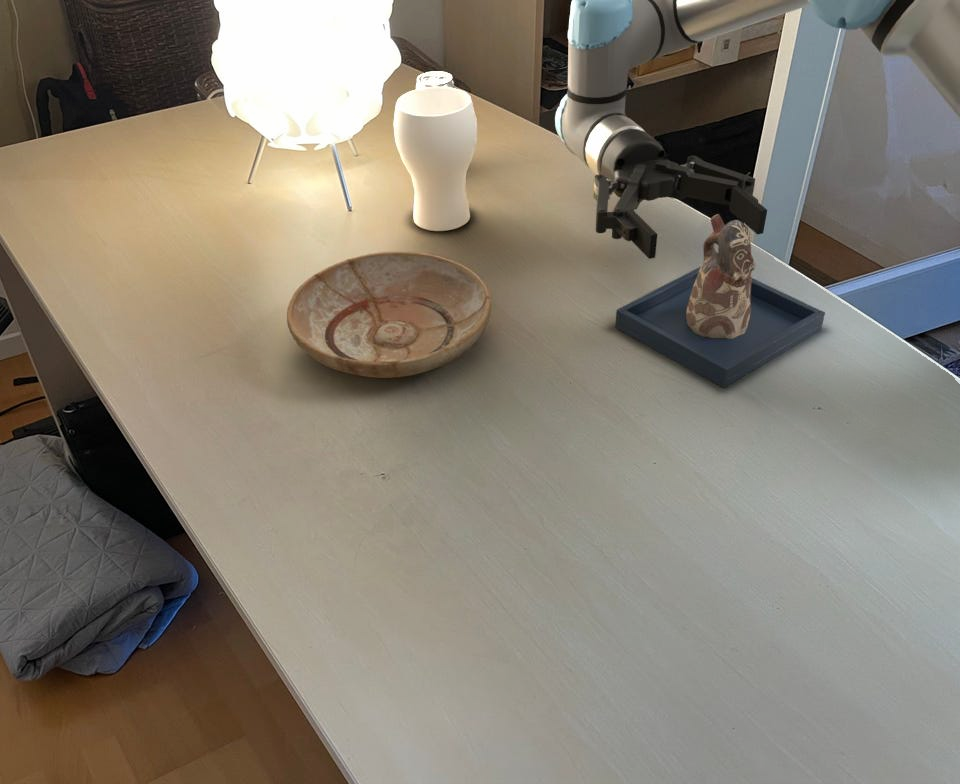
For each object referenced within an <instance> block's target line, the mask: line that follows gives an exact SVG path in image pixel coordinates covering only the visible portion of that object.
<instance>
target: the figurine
mask: <svg viewBox="0 0 960 784" xmlns="http://www.w3.org/2000/svg"><path fill="white" fill-rule="evenodd" d="M710 224H711V227H712V230H713V231H712V233H711V234H710V235H708V236H707V238H706V239H705V240H704V242H703V247H702V249H703V262H702V264H701V266H702V267H701V266H700V267H701V268H700V270H699V272H698V275H697V278H696V280H695V283H694V286H693V289H692V292H691V296H690V300H689V303H688V307H687V314H686V317H687V325H688V326H689V327H690V329H691V330H692V331H693V332H694V333H696V334H698V335H700V336H702V337H709V338H727V339H732V338H735V337H737V336H739V335H742V334H744V333H745V331H746V328H747V325H748V322H749V319H750V314H751V303H750V297H751V282H752V278H753V271H755V270H756V269H757V268H756V267H757V265H756V262H754V258H753V255H752V244H751V230H750V228H749V227H748V226H747V225H746V224H744V223H743V222H742V221H741V220H740V219H734V220H730V221H728V222H727V223H726V224H725V223H724V221H723V218H722V217H721V215H720V214H719V213H717V214H714V215H713V216H712V217H711V218H710ZM715 245H717V247H718V248H717V251H716V248H715Z"/></svg>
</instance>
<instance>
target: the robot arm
mask: <svg viewBox="0 0 960 784" xmlns="http://www.w3.org/2000/svg"><path fill="white" fill-rule="evenodd" d="M809 6H810V8H811V10H812V11H813V13H814V14H815V15H816V16H817V18H819V19H820V20H821V21H822V22H824V23H825V24H827V25H828V26H830V27H833V28H835V29H841V30H846V31H849V30H851V31H856V30H859V29H860V30H861V31H862V32H863V33H864V34H865V36H866V37H867V38H868V40H869V41H870V42H871V43H872V44H873V46H874V47H875V48H876V50H877V51H878V52H879V53H880V54H881V56H883V57H884V58H899V57H907V58H908V59H910V60H911V61H912V63H913V64H914V65H915V66H916V68H917V69H918V70H919V71H920V73H922V75H923V76H924V77H925V79H926V80H927V81H928V82H929V84H930V85H931V86H932V87H933V88H934V90H935V91H936V92H937V94H939V96H940V97H941V98H942V99H943V101H944V102H945V103H946V104H947V106H948V107H949V108H950V109H951V111H953V113H954V114H955V115H956V116H957V118H958V119H959V120H960V0H571V4H570V11H569V12H570V14H569V20H568V30H567V39H568V47H567V48H568V50H567V51H568V55H567V56H568V57H567V58H568V59H567V92H566V94H565V95H564V96H563V97H562V98H561V100H560V103H559V105H558V107H557V109H556V111H555V116H554V126H555V130H556V132H557V135H558V137H559V138H560V140H561V141H562V143H563V144H564V145H565V147H566V149H568V151H569V152H570V153H571V154H572V155H574V156H575V157H577V158H578V159H579V160H580V161H581V162H582V163H583V164H584V165H586V167H588V168H589V170H590V171H592V173H593V174H594V176H593V177H594V178H593V199H594V200H595V201H596V214H595V233H597V234H605V233H606V231H607V230H611V238H612V239H613V240H620V239H622V238H623V239H624V240H625V241H627V242H632V244H634V245H635V246H636V247H637V248H638V249H639V250H640V252H641V253H643V254H644V255H645V256H646V258H647V259H648V260H651V259H656V254H657V245H658V244H657V243H658V233H657V232H656V231H655V230H654V229H653V228H652V227H651V226H650V225H649V224H648V223H647V222H646V221H645V220H644V219H643V218H641V216H639V215H638V213H636V212H635V210H638V208H639V206H640V204H641V203H642V202H643V201H647V202H651V201H654V200H657V199H663V198H670V199H676V200H681V201H683V200H684V199H685V198H691V199H696V200H700V201H705V202H710V203H714V204H720V205H724V206H729V209H728V211H729V212H730V213H731V214H732V215H734V216H735V217H736V218H737V219H738V220H739V221H741V222H742V223H744V224H745V226H746V227H748V229H749V230H750V231H753V232H754V233H755V234H756V235H761V234H764V231H765V227H766V220H767V215H768V209H767V208H766V207H765V206H763V205H762V204H761V203H760V202H759V199H758V198H757V197H755V195H754V190H755V186H756V185H755V184H756V178H755V177H753V176H750V175H746V174H744V173H740V172H739V171H738V172H737V171H734V170H731V169H729V168H725V167H723V166H719V165H716V164H713V163H710V162H708V161H707V162H706V161H704V160H703V159H702V158H699V157H698V156H697V155H689V156H687V161H686V163H684V164H680V165H679V164H678V163H677V162H674V161H671V160H669V159H668V156H667V154H666V152H665V149H664V148H663V146H662V144H661V143H659V142H658V140H656V139H655V138H654V137H653V136H651V135H650V134H649V133H648V132H646V131H645V130H644V129H643V128H642V127H641V126H640V125H639V124H637V123H636V122H635V121H634V120H633V119H631V118H630V117H629V116H627V115H626V112H625V110H626V96H627V91H628V78H629V76H628V75H629V71H630V70H633V69H635V68H637V67H639V66H641V65H643V64H646V63H650V62H651V61H652V60H656V59H658V58H660V57H664V56H666V55H668V54H671V53H674V52H676V51H678V50H681V49H685V48H688V47H691V46H694V45H697V44H700V43H701V42H704V41H708V40H709V39H713V38H716V37H719V36H722V35H724V34H728V33H731V32H734V31H737V30H740V29H743V28H746V27H749V26H752V25H755V24H758V23H761V22H764V21H767V20H771V19H773V18H775V17H779V16H781V15H785V14H788V13H791V12H794V11H797V10H800V9H803V8H805V7H809ZM679 181H680V183H679ZM678 184H679V190H678V189H677V186H678ZM613 194H614V195H616V196H617V197H618V199H619V200H617V202H616V204H615V206H614V207H613V209H612V211H608V209H609V200H610V199H611V196H612V195H613Z"/></svg>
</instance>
